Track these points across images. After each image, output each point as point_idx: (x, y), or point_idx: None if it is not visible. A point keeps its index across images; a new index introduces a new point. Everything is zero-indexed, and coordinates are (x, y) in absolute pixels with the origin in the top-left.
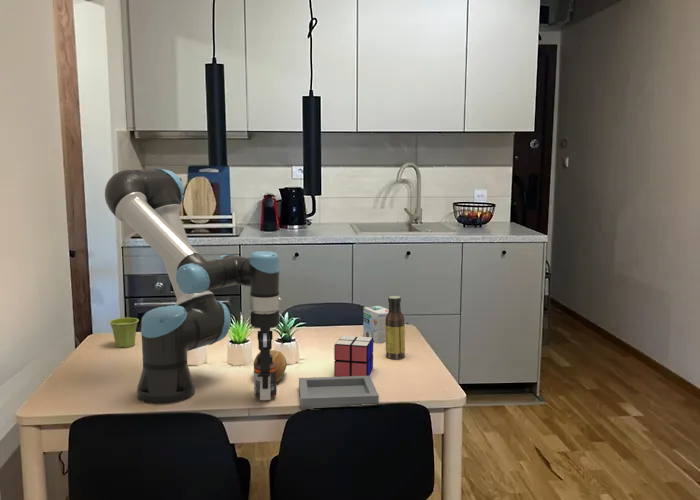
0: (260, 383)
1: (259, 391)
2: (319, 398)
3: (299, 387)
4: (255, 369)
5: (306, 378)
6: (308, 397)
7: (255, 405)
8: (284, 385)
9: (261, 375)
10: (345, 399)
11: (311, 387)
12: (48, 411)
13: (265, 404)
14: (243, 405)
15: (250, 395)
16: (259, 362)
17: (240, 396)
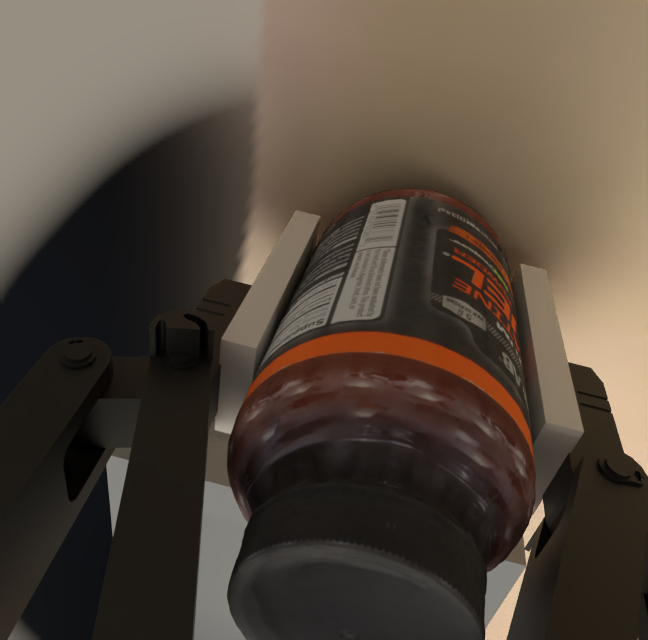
0: (250, 294)
1: (323, 244)
2: (113, 523)
3: None
4: (317, 354)
5: (490, 591)
6: (121, 489)
7: (270, 151)
8: (635, 450)
9: (57, 356)
10: None
11: None
12: None
13: (275, 232)
14: (294, 41)
15: (539, 158)
16: (306, 478)
17: (560, 51)
